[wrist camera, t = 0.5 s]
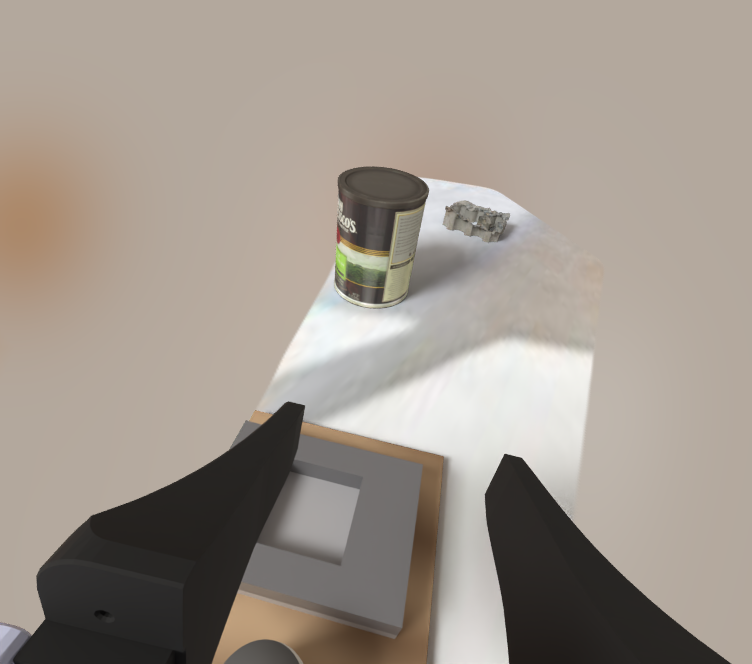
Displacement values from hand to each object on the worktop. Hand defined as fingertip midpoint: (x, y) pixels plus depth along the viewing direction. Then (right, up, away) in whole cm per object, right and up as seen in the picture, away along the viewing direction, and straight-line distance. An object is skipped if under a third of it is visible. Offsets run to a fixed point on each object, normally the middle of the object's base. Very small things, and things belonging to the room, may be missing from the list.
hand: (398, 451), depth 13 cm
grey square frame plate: (-5, -10, +14) cm, 18 cm away
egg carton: (+17, +23, +55) cm, 62 cm away
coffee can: (-1, +10, +39) cm, 40 cm away
